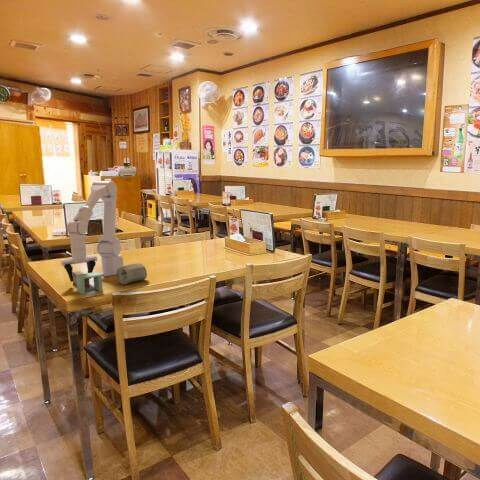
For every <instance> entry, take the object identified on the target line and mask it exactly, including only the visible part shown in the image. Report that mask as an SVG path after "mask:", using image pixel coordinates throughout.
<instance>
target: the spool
mask: <svg viewBox="0 0 480 480" xmlns="http://www.w3.org/2000/svg"><path fill="white" fill-rule="evenodd" d="M147 276H148V272H147V269H146V266H145V265H144V264H142V263H139V262H138V263H130V264H125V265H123V267H120V268H118V269H117V275H116V278H117V280H118V282H119V283H120V284H121V285H124V286H125V285H127V284H131V283H132V284H133V283H137V282H141V281H145V280H146V279H147Z"/></svg>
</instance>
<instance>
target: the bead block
mask: <svg viewBox="0 0 480 480" xmlns="http://www.w3.org/2000/svg"><path fill="white" fill-rule="evenodd" d="M102 277H103V275H102V274H100V272H97V271H95V272H94V271H93V272H92V273H88V272H87V273H84V274H80V275H76V282H77V285H76V292H77V293H79V294H80V295H86V289H85V282H84V279H87V278H91V279H92V278H93V285H94V286H93V289H95V290H97V291H98V292H103V278H102Z"/></svg>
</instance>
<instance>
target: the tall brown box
mask: <svg viewBox="0 0 480 480" xmlns="http://www.w3.org/2000/svg"><path fill="white" fill-rule="evenodd" d="M72 274H73V284H74V283H75V285H76V286H77V282H76V275H80V274H85V273H84V272H82V271H81V270H79V271H72ZM84 282H85V290H86V289H90V288H91V287H90V284H91V283H90V279H89V278H87V279H84Z"/></svg>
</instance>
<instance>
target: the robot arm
mask: <svg viewBox="0 0 480 480" xmlns="http://www.w3.org/2000/svg"><path fill="white" fill-rule="evenodd" d="M100 199H101V200H102V201H103V204H104V206H103V229H102V235H101V236H100V237H99V238H98V240H97V241H98V242H97V245H96V251H97V253H98V254H99V257H101V272H99V273H100V274H101V275H102V277H103V276H104V277H110V276H117V269H118V268H120V267H123V266H124V259H123V256H122V254H120V252H121V251H122V247H121V243H120V241H121V240H120V238H118V237H117V236H116V215H117V214H116V213H117V199H118V185H117V183H115V181H112V180H108V181H106V180H102V181H101V180H99V181H98V180H95V181H93V182H92V185H90V193H89V195H88V198H87V199H86V202H85V204H84V206H80V207H79V208H78V211H77V212H76V214H75V216H74V217H73V219H72V220H70V221H69V222H68V223H67V225H66V228H65V229H66V232H67V233H68V237H69V238H70V252H71V258H68V259H65V260H60V266H62V267H63V268H64V269H65V271H66V273H67V274H68V278H69V281H70V282H73V266H72V265H76V264H84V263H86V267H87V273H93V272H94V268H95V266H96V264H97V263H96V262H98V257H97V255H94V256H87V248H86V233H87V232H88V226H89V222H90V219H91V218H92V216H93V214H94V212H93V209H94V208H95V206H96V205H97V203H98V202H99V201H100ZM90 279H92V278H89V280H90Z"/></svg>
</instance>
